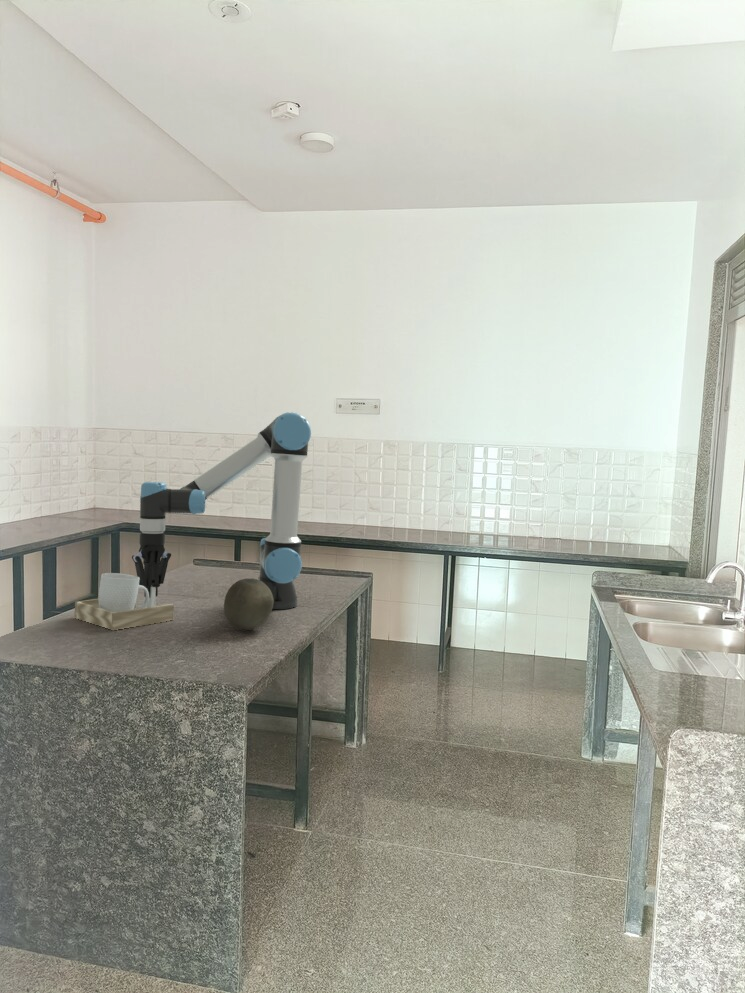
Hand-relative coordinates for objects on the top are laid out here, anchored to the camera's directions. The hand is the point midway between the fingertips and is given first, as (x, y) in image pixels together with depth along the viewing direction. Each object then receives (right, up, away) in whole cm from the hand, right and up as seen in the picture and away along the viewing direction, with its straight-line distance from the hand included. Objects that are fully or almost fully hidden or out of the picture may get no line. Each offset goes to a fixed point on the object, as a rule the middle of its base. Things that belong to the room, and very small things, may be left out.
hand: (150, 607), depth 227 cm
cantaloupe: (+32, -5, -13) cm, 35 cm away
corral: (-6, -3, -7) cm, 9 cm away
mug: (-7, -3, -8) cm, 11 cm away
